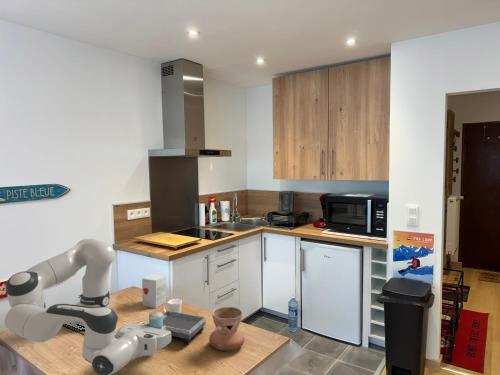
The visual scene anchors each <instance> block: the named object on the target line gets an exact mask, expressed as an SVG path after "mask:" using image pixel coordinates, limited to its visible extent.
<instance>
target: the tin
mask: <svg viewBox="0 0 500 375" xmlns="http://www.w3.org/2000/svg"><path fill="white" fill-rule="evenodd" d="M163 313H164V312H161V311H153V312H150V313H149V314H148V322H149V327H152V328H157V329H160V326H162V325H163Z"/></svg>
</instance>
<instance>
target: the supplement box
mask: <svg viewBox="0 0 500 375" xmlns="http://www.w3.org/2000/svg"><path fill="white" fill-rule="evenodd" d="M166 278H167V276H166V275H164V274H157V273H151V274H149V275H147V276H144V277H142V280H141V283H142V288H141V290H142V292H141V293H142V295H141V296H142V306H143V307H148V308H153V309H158V308H159V307H160V306H163V305H164V304H165V303H166V302H167V301H166V300H167V298H166V296H167V292H166V290H167V287H166V285H167V284H166V282H167V279H166Z"/></svg>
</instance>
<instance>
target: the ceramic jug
mask: <svg viewBox="0 0 500 375" xmlns="http://www.w3.org/2000/svg"><path fill="white" fill-rule="evenodd" d="M211 315H212V320H213V324H214V326H215V329H214V330H213V331H212V332H211V333H210V334H209V337H208V338H209V339H208V340H209V343H210V345H211V347H212V348H214V349H215V350H218V351H222V352H231V351H234V350H237V349H240V348H241V347H242V346H243V345H244V343H245V341H246V340H245V335H244V332H242V331H241V330H239V329H238V328H239V327H240V323H241V322H242V318H243V311H242V310H241V309H240V308H238V307H234V306H220V307H217V308H215V309H214V310H213V311H212V314H211Z"/></svg>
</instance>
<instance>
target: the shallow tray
mask: <svg viewBox="0 0 500 375" xmlns="http://www.w3.org/2000/svg"><path fill="white" fill-rule="evenodd" d="M162 313H163V325H165V326H166V330H167V331H171V337H175V338H176V337H177V338H180V339H183V340H182V341H183V344H185V345H189V344H190V343H191V341H192V338H193V337H194V336H195V335H196V334H197V333H202V332H203V331H204V328H205V326H206V324H207V322H206V321H207V320H206V319H207V318H206V317H205V316H202V315H201V316H200V315H196V314H189V313H184V312H180V313H179V312H174V311H169V309H168V310H166V312H164V311H163V312H162Z"/></svg>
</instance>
